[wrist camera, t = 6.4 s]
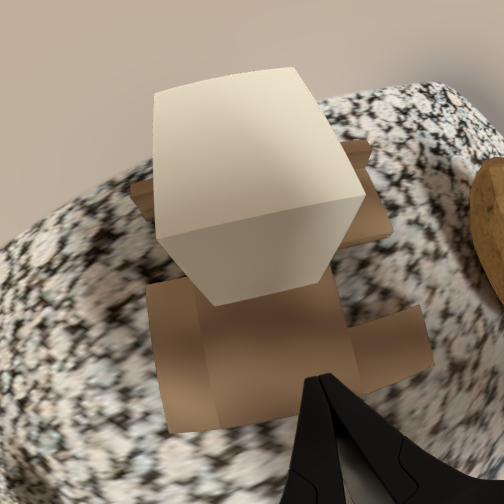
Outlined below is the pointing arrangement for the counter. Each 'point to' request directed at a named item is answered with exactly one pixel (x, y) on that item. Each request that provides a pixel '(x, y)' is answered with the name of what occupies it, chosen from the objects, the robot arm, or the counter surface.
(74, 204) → the counter surface
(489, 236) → the potato
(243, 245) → the block
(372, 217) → the lane board
